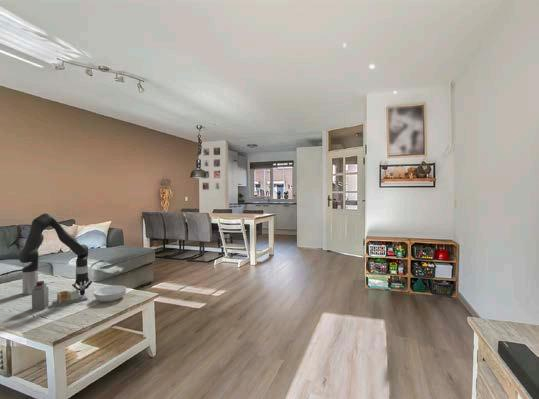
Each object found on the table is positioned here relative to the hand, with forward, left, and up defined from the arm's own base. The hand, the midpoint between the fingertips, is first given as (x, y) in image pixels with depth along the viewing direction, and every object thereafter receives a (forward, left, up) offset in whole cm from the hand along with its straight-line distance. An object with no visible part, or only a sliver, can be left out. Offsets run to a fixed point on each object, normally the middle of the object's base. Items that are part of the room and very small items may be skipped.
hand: (82, 295), depth 204 cm
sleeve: (0, -12, -1) cm, 12 cm away
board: (0, -7, -2) cm, 8 cm away
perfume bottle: (+1, -24, -2) cm, 25 cm away
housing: (0, -6, -1) cm, 6 cm away
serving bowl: (+17, +14, -3) cm, 22 cm away
